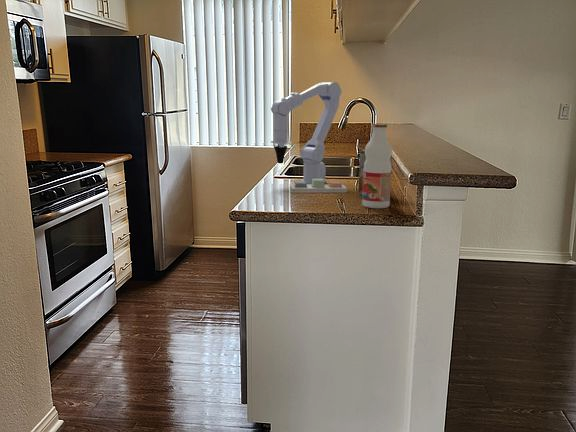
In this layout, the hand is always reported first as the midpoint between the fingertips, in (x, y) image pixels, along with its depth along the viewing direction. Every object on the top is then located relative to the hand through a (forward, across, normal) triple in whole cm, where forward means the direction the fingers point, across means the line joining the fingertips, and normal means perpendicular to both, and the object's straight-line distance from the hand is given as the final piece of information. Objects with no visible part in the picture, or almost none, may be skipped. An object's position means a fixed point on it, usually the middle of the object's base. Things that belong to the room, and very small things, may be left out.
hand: (280, 163), depth 217 cm
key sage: (+7, +13, +14) cm, 21 cm away
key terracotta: (+9, +13, +21) cm, 26 cm away
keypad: (+9, +13, +14) cm, 21 cm away
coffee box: (+10, +23, +34) cm, 42 cm away
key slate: (+9, +13, +7) cm, 17 cm away
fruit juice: (+10, +45, +30) cm, 55 cm away
